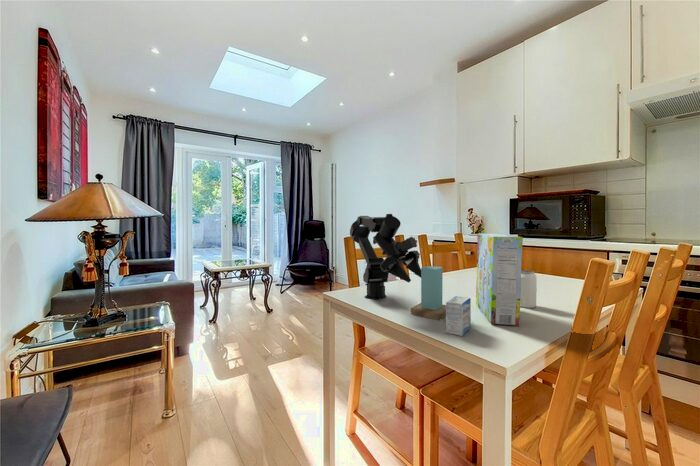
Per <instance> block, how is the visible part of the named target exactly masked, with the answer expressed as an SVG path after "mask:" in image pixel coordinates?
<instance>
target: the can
mask: <svg viewBox="0 0 700 466" xmlns="http://www.w3.org/2000/svg"><path fill="white" fill-rule="evenodd" d="M537 281H538V279H537V275H536V272H535V271H532V270H525V269H524V270H522V269H521V296H520V308H524V309H534V308H535V307H537V283H538V282H537Z"/></svg>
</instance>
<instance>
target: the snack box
mask: <svg viewBox="0 0 700 466" xmlns="http://www.w3.org/2000/svg"><path fill="white" fill-rule="evenodd" d="M523 239H524V237H523V236H517V235H516V236H515V235H512V234H502V233H501V234H500V233H477V248H476V286H475V287H476V288H475V289H476V292H475V293H476V295H475V305H476V306H477V307H478V309H479V310H480V311H481V313H482V314H483V315H484V317H486V318H487V320H488V322H490V324H492V325H503V326H518V327H519V326H520V319H521V317H520V316H521V307H520V296H521V270H522V263H523V262H522V258H523V257H522V256H523V241H524V240H523Z"/></svg>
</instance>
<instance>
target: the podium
mask: <svg viewBox="0 0 700 466" xmlns="http://www.w3.org/2000/svg"><path fill="white" fill-rule="evenodd" d="M410 314H411V315H413V316H414V315H415V316H419V317H421V318H422V317H424V318H427V319H432V320H437V321H441V320H443V319H444V318H445V319H446V304H444V303H442V307H441V308H439V309H437V310H431V309H427V308H422V307H421V302H420V303H418V304H416V305H414V306H412V307H410Z"/></svg>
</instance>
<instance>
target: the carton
mask: <svg viewBox="0 0 700 466" xmlns="http://www.w3.org/2000/svg"><path fill="white" fill-rule="evenodd" d="M420 268H421V277H420V279H421V280H420V285H421V287H420V294H421V295H420V296H421V297H420V298H421V299H420V300H421V301H420V303H421V307H422V308H427V309H431V310H437V309H439V308H441V307H442V304H443V266H442V267H441V266H433V265H431V266H430V265H427V266H424V267H420Z"/></svg>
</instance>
